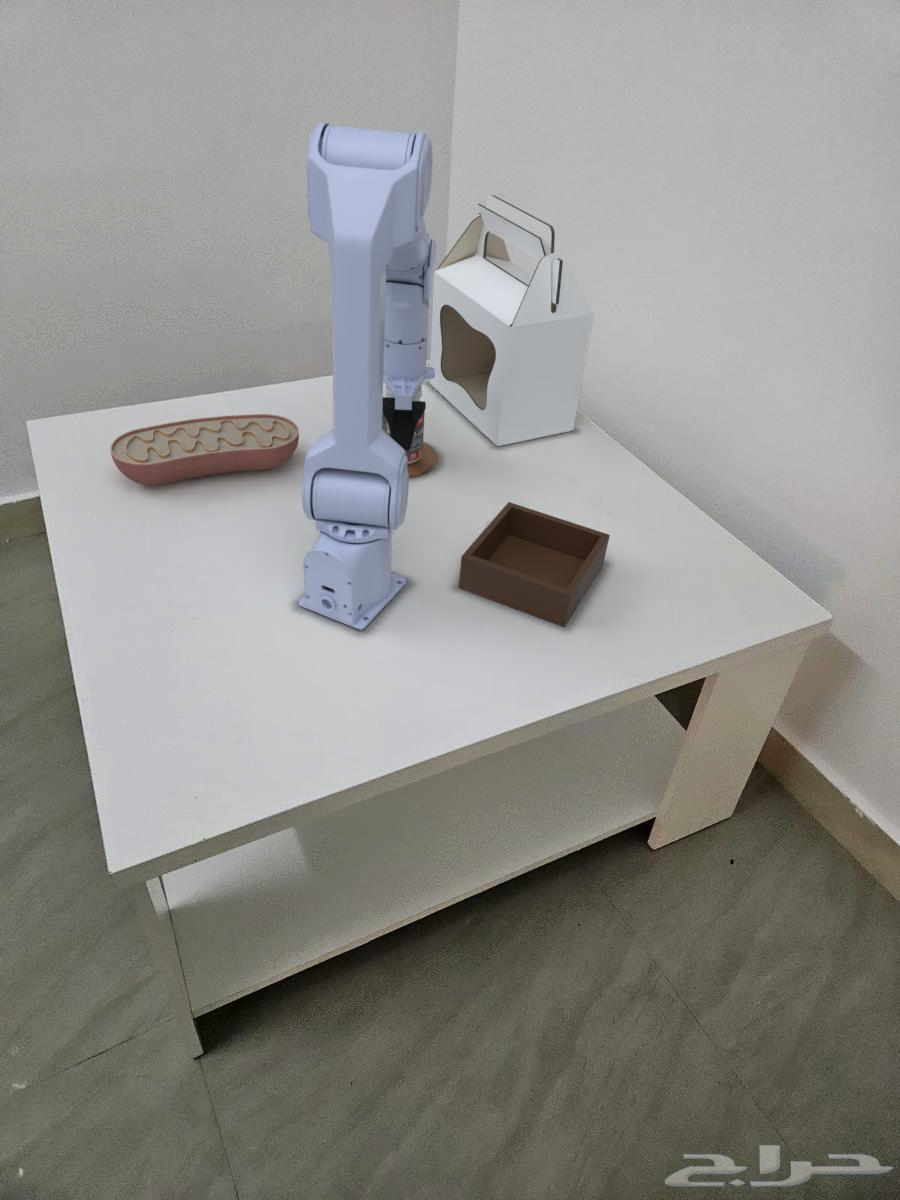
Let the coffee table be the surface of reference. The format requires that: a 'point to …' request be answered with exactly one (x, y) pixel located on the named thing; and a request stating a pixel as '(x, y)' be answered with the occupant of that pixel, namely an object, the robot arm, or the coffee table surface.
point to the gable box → (509, 329)
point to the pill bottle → (417, 442)
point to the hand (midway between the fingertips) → (401, 434)
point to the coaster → (423, 462)
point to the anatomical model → (204, 447)
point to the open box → (533, 563)
